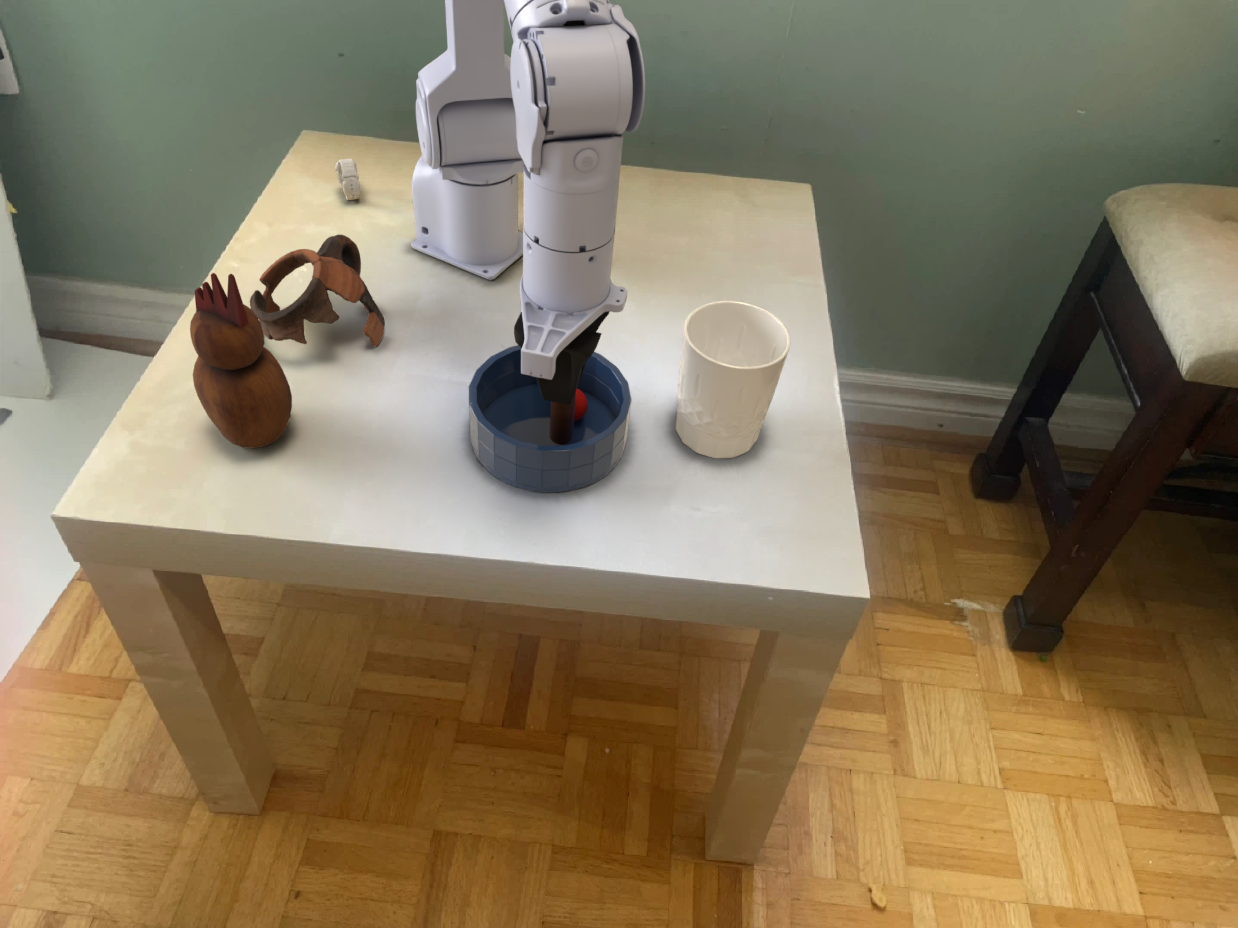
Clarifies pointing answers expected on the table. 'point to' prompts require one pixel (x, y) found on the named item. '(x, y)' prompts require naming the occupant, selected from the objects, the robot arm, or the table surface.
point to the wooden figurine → (237, 369)
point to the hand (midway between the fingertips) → (561, 389)
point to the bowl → (546, 425)
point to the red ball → (580, 405)
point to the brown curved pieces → (316, 291)
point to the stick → (562, 422)
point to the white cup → (728, 376)
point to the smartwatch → (348, 178)
